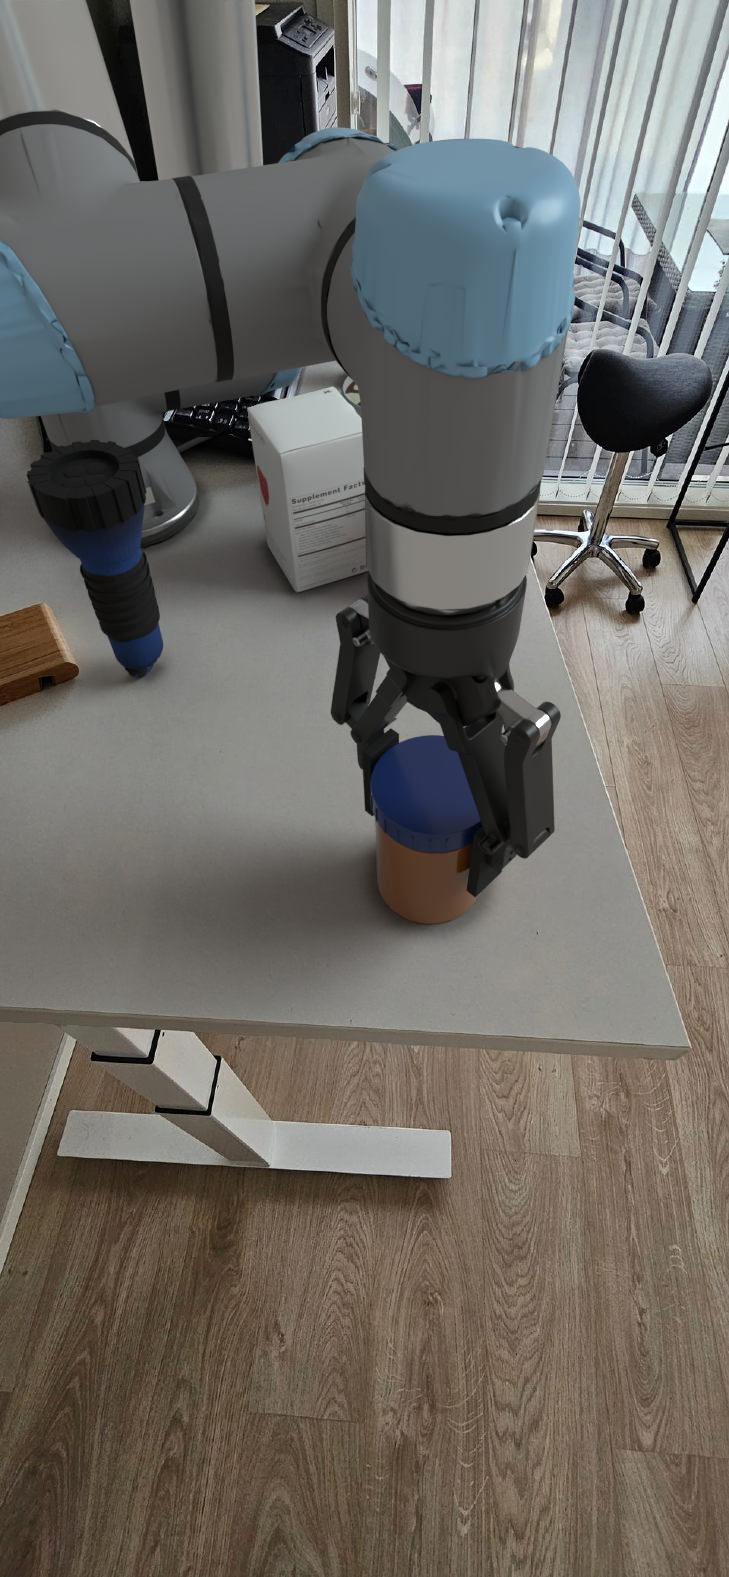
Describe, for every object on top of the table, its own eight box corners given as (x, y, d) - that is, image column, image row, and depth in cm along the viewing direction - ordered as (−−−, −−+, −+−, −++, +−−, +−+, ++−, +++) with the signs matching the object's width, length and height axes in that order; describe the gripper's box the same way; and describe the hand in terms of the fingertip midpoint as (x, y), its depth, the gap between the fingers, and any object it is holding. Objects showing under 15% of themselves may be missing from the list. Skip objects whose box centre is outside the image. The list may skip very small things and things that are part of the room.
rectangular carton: (264, 545, 85) (243, 404, 73) (343, 523, 87) (335, 383, 75) (294, 595, 80) (276, 452, 68) (377, 570, 82) (374, 427, 70)
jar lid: (485, 864, 49) (488, 847, 48) (356, 839, 50) (355, 821, 49) (505, 764, 54) (508, 745, 52) (386, 744, 55) (386, 725, 54)
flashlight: (197, 638, 77) (145, 436, 61) (187, 699, 72) (129, 495, 56) (112, 641, 77) (39, 440, 61) (97, 702, 72) (13, 500, 56)
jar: (380, 833, 62) (377, 742, 54) (480, 837, 62) (493, 746, 53) (374, 921, 58) (370, 836, 49) (481, 926, 57) (496, 842, 49)
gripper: (695, 633, 35) (593, 901, 52) (345, 453, 44) (360, 730, 62) (591, 728, 31) (520, 978, 49) (239, 512, 41) (286, 786, 59)
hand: (431, 840), depth 56 cm, fingers open, 9 cm apart
